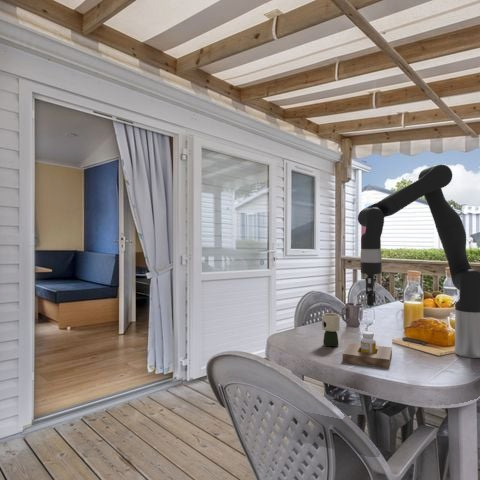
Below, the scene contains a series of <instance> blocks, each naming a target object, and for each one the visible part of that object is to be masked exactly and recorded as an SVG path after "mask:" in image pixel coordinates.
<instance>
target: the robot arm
mask: <svg viewBox="0 0 480 480" xmlns="http://www.w3.org/2000/svg"><path fill="white" fill-rule="evenodd" d="M452 179H453V170H452V169H451V168H450V166H448V165H446V164H442V163H441V164H435V165H432V166H429V167H427V168H424V169H422V170H421V171H420V173H419V174H418V180H416V181H413V182H412V183H410V184H408V185H406V186H403V187H401V188H400V189H398V190H396V191H393V192H392V193H390V194H388V195H387V196H386V197H384V198H383V199H381V200H380V201H377V202H375V203H373V204H371V205H369V206H366V207H365V208H363V209H362V210H361V211H359V213H358V215H357V221H358V224H359V225H360V226H362V227H365V231H364V233H363V234H362V235H361V237H360V238H361V239H360V249H361V250H360V273H361V274H363V275H366V277H365V281H364V282H365V295H366V305H367V306H368V307H373V306H374V304H375V303H376V293H377V288H378V278H377V275H380V274H382V272H383V268H382V263H383V262H382V258H383V257H382V249H381V247H382V245H381V243H382V242H381V241H382V240H381V237H382V234H383V229H384V224H385V218H386V217H390V216H392V215H395V214H396V213H397V212H400V211H401V210H403V209H404V208H406V207H407V206H409V205H410V204H412V203H414V202H415V201H417V200H418V199H420V198H422V197H423V196H424V197H425V198H424V199H425V200H426V203H427V205H428V207H429V211H430V214H431V217H432V219H433V222H434V224H435V228H436V232H437V235H438V238H439V240H440V243H441V245H442V249H443V251H444V254H445V257H446V260H447V263H448V268H449V274H450V278H451V282H452V284H453V287H455V289H457V290H458V291H459V299H458V300H457V301H456V302H455V306H454V354H456V355H457V356H460V357H464V358H471V359H480V271H479V270H476V269H472V267H471V265H470V261H469V260H468V256H467V251H466V249H467V232H466V230H465V227H464V223H463V221H462V218H461V216H460V215H459V214H458V212H457V211H456V210H455V209H454V208H453V207H452V206H451V205H450V204H449V202H448V201H447V200H446V197H445V195H444V193H443V190H442V189H443V188H445V187H446V186H448V185H449V184H450V183H451V182H452Z"/></svg>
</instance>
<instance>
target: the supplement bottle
mask: <svg viewBox="0 0 480 480" xmlns="http://www.w3.org/2000/svg"><path fill="white" fill-rule="evenodd" d="M374 336H375V334H374V332H372V331H363V332H362V337H361V338H360V344H361V352H363V353H372V354H376V346H377V345H376V344H377V341H376V338H374Z"/></svg>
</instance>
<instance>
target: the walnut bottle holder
mask: <svg viewBox="0 0 480 480" xmlns="http://www.w3.org/2000/svg"><path fill="white" fill-rule="evenodd" d="M392 356H393V347H390V346H381V345H376V354H372V353H363V352H361V343H355V342H348V344H347V346H346V347H345V349H344V351H343V352H342V363H349V364H356V365H361V366H362V365H363V366H370V367H378V368H386V369H390V367H391V361H392Z"/></svg>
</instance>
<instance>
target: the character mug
mask: <svg viewBox="0 0 480 480" xmlns="http://www.w3.org/2000/svg"><path fill="white" fill-rule="evenodd" d="M321 316H322V317H321V318H322V319H321V320H322V322H321V325H322V326H321V328H322V330H323V331H325V332H324V335H323V342H322V343H323V345H324V346H326V347H330V348H332V347H334V346H335V347H336V346H339V336H338V332H339V331H340V324H341V323H340V319H341V318H340V316H341V315H340V314H338V313H332V312H329V313H322V315H321Z"/></svg>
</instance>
